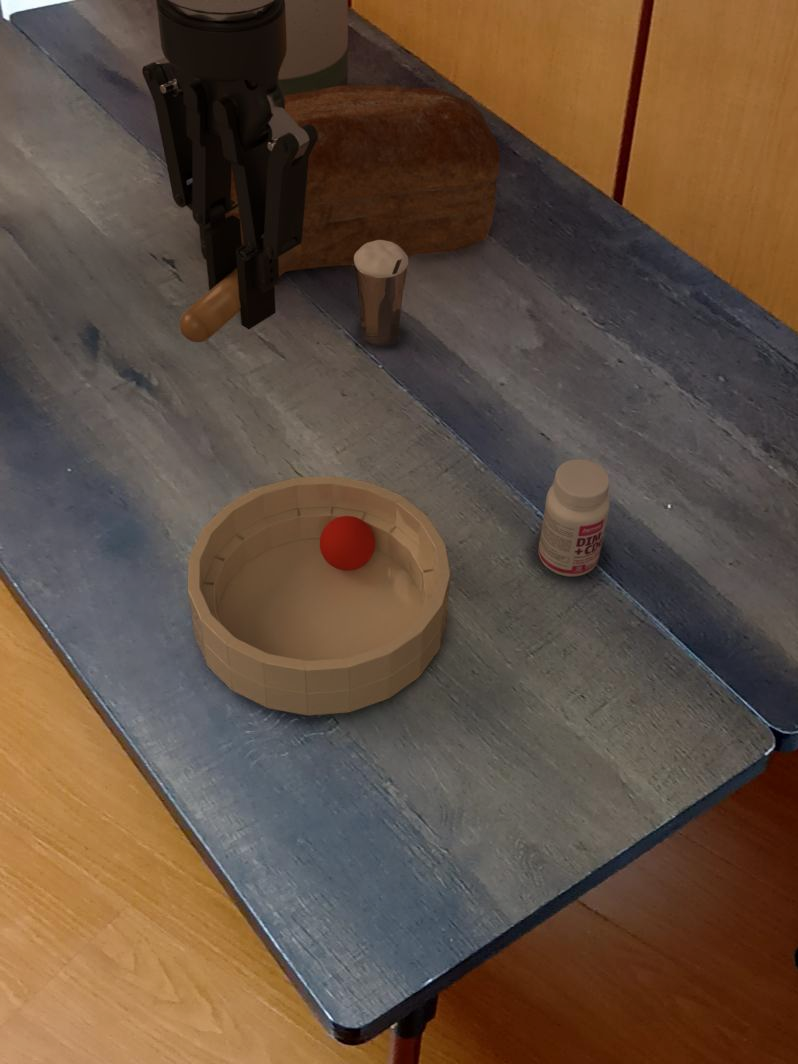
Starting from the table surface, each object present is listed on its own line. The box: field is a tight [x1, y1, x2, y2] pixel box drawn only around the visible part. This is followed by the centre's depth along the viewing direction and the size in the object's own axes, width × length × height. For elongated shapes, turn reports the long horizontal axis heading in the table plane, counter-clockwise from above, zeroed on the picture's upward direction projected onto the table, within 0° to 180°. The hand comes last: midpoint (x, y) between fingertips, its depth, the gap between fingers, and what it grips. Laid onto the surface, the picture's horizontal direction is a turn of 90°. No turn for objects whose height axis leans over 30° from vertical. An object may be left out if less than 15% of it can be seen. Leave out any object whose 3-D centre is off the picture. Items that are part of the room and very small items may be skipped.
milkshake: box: [353, 240, 409, 347], centre depth 113 cm, size 4×5×10 cm
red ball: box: [320, 516, 375, 571], centre depth 96 cm, size 4×4×4 cm
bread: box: [225, 84, 501, 273], centre depth 121 cm, size 12×28×14 cm, turn 110°
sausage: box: [179, 244, 301, 343], centre depth 94 cm, size 11×2×2 cm
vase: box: [278, 0, 349, 95], centre depth 131 cm, size 17×17×24 cm
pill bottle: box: [537, 458, 611, 577], centre depth 98 cm, size 5×5×8 cm
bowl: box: [187, 475, 451, 716], centre depth 93 cm, size 18×18×6 cm
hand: (243, 309), depth 96 cm, fingers closed on sausage, 2 cm apart
